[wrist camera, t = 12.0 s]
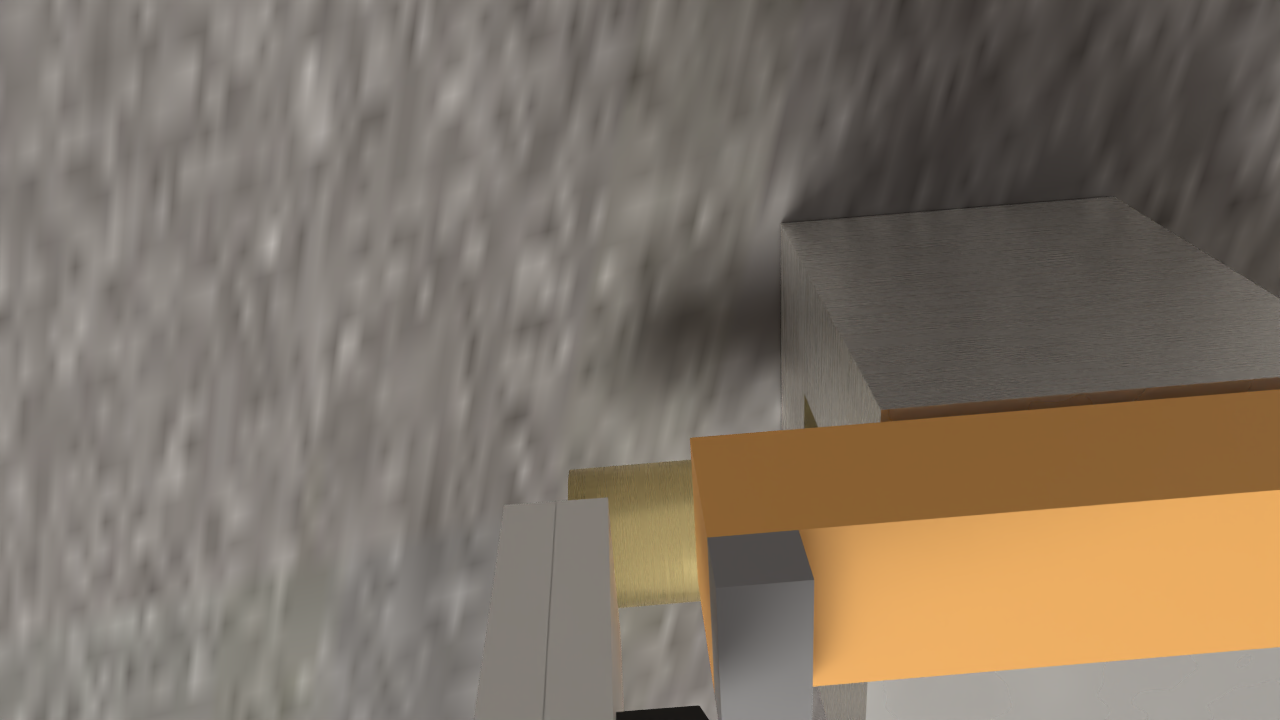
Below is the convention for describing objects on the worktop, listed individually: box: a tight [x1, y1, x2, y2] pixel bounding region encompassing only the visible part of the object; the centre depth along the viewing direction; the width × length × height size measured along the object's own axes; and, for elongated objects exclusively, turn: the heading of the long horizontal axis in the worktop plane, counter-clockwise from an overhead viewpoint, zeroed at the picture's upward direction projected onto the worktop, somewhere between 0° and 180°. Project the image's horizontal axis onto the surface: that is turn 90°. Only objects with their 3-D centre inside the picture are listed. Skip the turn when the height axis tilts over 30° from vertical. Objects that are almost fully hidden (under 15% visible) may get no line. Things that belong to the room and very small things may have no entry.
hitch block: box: [781, 196, 1280, 720], centre depth 21 cm, size 10×8×9 cm
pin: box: [568, 460, 701, 608], centre depth 21 cm, size 6×16×6 cm, turn 94°
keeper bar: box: [690, 389, 1280, 720], centre depth 14 cm, size 3×10×4 cm, turn 94°
